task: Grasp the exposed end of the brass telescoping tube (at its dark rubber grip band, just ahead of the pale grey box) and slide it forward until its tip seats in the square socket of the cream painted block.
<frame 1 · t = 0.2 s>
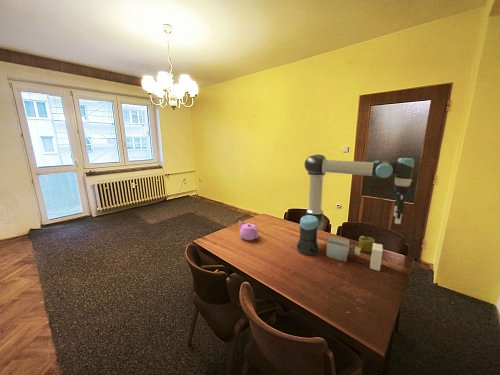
hand: (396, 219, 125), 27 cm above the table, fingers open, 13 cm apart
tube: (345, 247, 133), point 7 cm above the table, slide at 0.0 cm
mug: (364, 248, 146), on the table
pale grey box: (337, 255, 137), on the table
teapot: (247, 237, 164), on the table
socket block: (374, 265, 126), on the table
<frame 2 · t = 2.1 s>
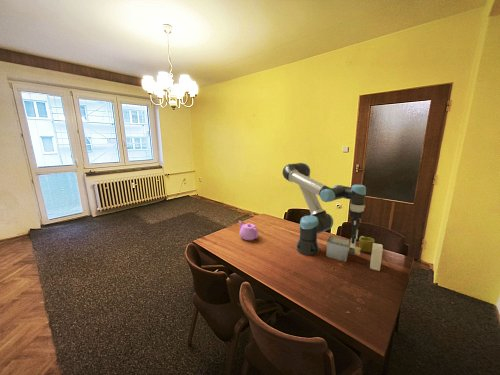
hand: (353, 243, 129), 12 cm above the table, fingers open, 13 cm apart
nothing on the table moved.
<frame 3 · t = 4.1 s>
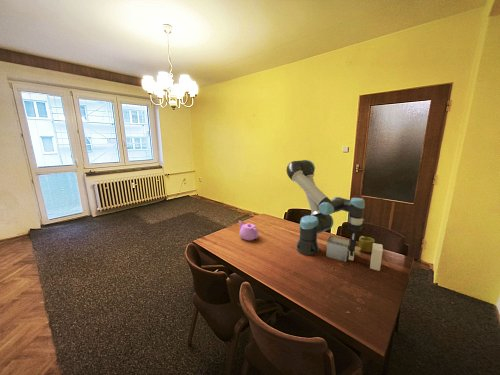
hand: (351, 257, 132), 2 cm above the table, fingers closed on tube, 5 cm apart
tube: (345, 247, 133), point 7 cm above the table, slide at 0.0 cm, touching gripper
everything else where it was.
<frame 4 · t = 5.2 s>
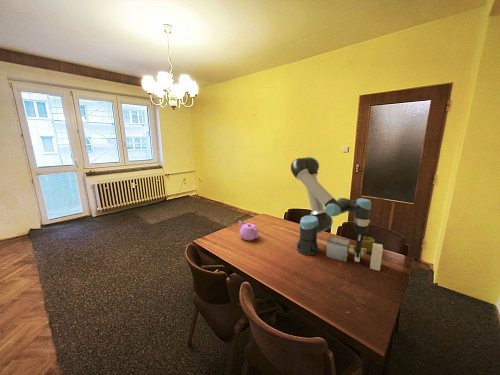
hand: (357, 258, 130), 2 cm above the table, fingers closed on tube, 5 cm apart
tube: (351, 249, 131), point 7 cm above the table, slide at 3.3 cm, touching gripper
everything else where it was.
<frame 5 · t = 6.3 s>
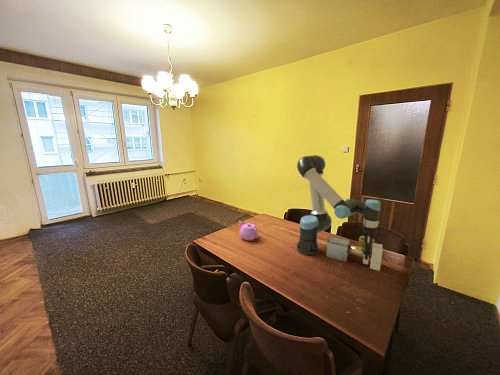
hand: (365, 260, 128), 2 cm above the table, fingers closed on tube, 5 cm apart
tube: (359, 251, 129), point 7 cm above the table, slide at 7.9 cm, touching gripper
everything else where it was.
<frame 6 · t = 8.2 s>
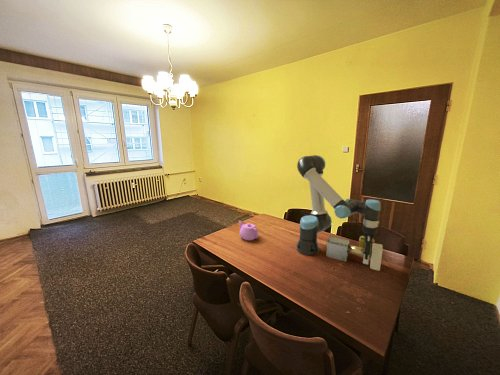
hand: (366, 258, 127), 4 cm above the table, fingers open, 13 cm apart
tube: (359, 251, 129), point 7 cm above the table, slide at 8.0 cm
everything else where it was.
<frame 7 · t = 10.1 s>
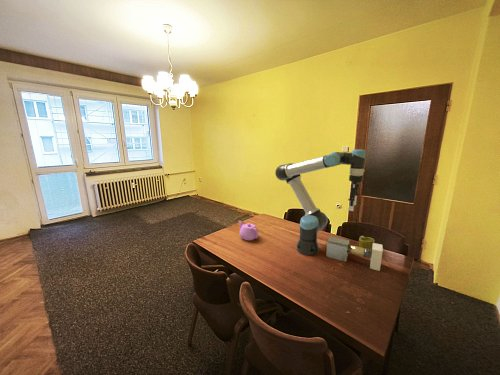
hand: (352, 207, 133), 32 cm above the table, fingers open, 13 cm apart
nothing on the table moved.
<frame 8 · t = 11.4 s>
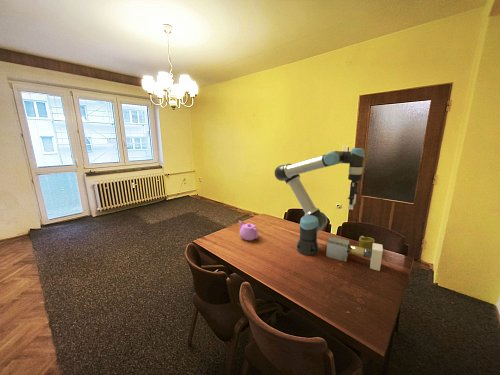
hand: (351, 206, 133), 33 cm above the table, fingers open, 13 cm apart
nothing on the table moved.
at the end: tube slide at 8.0 cm; the gripper is holding nothing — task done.
